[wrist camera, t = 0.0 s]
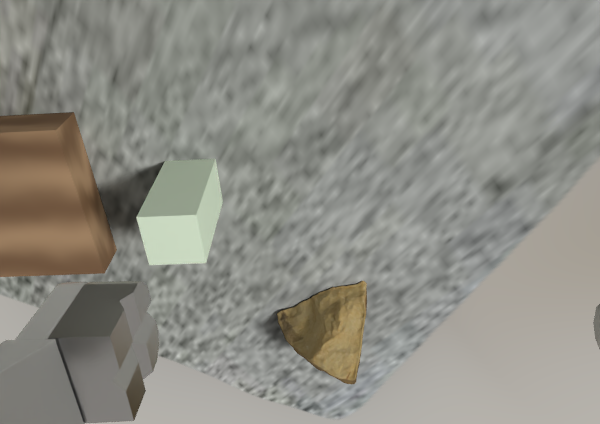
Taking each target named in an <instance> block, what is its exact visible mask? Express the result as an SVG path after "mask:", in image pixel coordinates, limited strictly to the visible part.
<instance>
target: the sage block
mask: <svg viewBox="0 0 600 424" xmlns="http://www.w3.org/2000/svg"><path fill="white" fill-rule="evenodd" d="M222 203H223V201H222V195H221V189H220V183H219V177H218V171H217V165H216V159H200V160H178V161H165V162H164V164H163V166H162V168H161V170H160V172H159V174H158V176H157V178H156V180H155V182H154V184H153V186H152V188H151V189H150V191H149V193H148V195H147V197H146V199H145V201H144V203H143V205H142V207H141V209H140V211H139V213H138V215H137V217H136V218H137V222H138V225H139V229H140V233H141V236H142V240H143V244H144V247H145V251H146V254H147V258H148V262H149V265H165V264H192V263H206V261H207V258H208V254H209V250H210V247H211V243H212V239H213V236H214V232H215V229H216V225H217V221H218V218H219V214H220V210H221V207H222Z"/></svg>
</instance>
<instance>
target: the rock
mask: <svg viewBox="0 0 600 424" xmlns="http://www.w3.org/2000/svg"><path fill="white" fill-rule="evenodd" d="M366 284H367V283H366V282H364V281H361V282H360V283H358V284H355V285H348V286H339V287H332V288H330V289H328V290H326V291H323V292H320V293H318V294H317V295H314V296H313V297H311V298H310V299H308V300H306V301H303V302H301V303H299V304H298V305H297V306H295V307H293V308H289V309H286V310H282V311H280V312H278V313H277V316H278V323H279V325H280V327H281V329H282V332H283V334H284V336H285V339H286V341H287V342H288V343H289V344H290V345H291V346H292V347H293V348H294V350H295V351H296V352H297V353H298V354H299V355H301V356H302V357H304V358H305V359H306V360H307V361H308V362H310V363H311V364H312V365H313V366H314V367H316V368H317V369H318V370H320V371H325V372H326V373H328V374H329V375H331V376H333V377H335V378H337V379H339V380H341V381H342V382H344V383H347V384H355V382H356V378H357V372H358V367H359V363H360V356H361V348H362V338H363V330H364V323H365V317H366V308H367V291H366Z"/></svg>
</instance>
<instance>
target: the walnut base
mask: <svg viewBox="0 0 600 424" xmlns="http://www.w3.org/2000/svg"><path fill="white" fill-rule="evenodd" d="M116 250H117V249H116V246H115V243H114V240H113V236H112V233H111V230H110V227H109V224H108V220H107V217H106V214H105V211H104V208H103V204H102V201H101V198H100V195H99V192H98V188H97V185H96V182H95V179H94V175H93V172H92V169H91V166H90V163H89V159H88V156H87V153H86V150H85V147H84V143H83V140H82V137H81V134H80V131H79V127H78V124H77V121H76V118H75V115H74V112H71V113H51V114H32V115H13V116H0V277H11V276H40V275H69V274H97V273H105V271H106V269H107V268H108V266H109V264H110V262H111V260H112V258H113V256H114V254H115V252H116Z"/></svg>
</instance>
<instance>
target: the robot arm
mask: <svg viewBox="0 0 600 424" xmlns="http://www.w3.org/2000/svg"><path fill="white" fill-rule="evenodd" d="M150 303H151V297H150V293H149V290H148V286H147V285H146V284H145V283H144V282H143V281H117V282H70V283H62V284H59V285H57V286H56V287H55V288H54V290H53V291H52V292H51V293H50V295H49V296H48V297H47V299H46V300H45V301H44V303H43V304H42V305H41V307H40V308H39V309H38V310H37V312H36V313H35V314H34V316H33V317H32V318H31V320H30V321H29V322H28V324H27V325H26V326H25V328H24V329H23V330H22V331H21V333H20V334H19V335H18V337H17V338H16V339H15V340H6V341H4V342H2V343H1V344H0V424H84V423H98V422H119V421H134V420H135V417H136V414H137V412H138V409H139V407H140V404H141V401H142V399H143V396H144V394H145V391H146V390H145V386H144V382H143V379H144V378H146V377H147V376H148V375H149V374H150V373H152V372H153V370H154V367H155V364H156V362H157V357H158V350H159V333H158V327H157V323H156V320H155V319H154V318H153V317H152V316H151V315H150V314H148V313H147V309H148V307H149V305H150ZM594 331H595V339H596V341H597V344H598V346H599V349H600V304H599V305H598V306H597V307H596V312H595V318H594Z"/></svg>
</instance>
